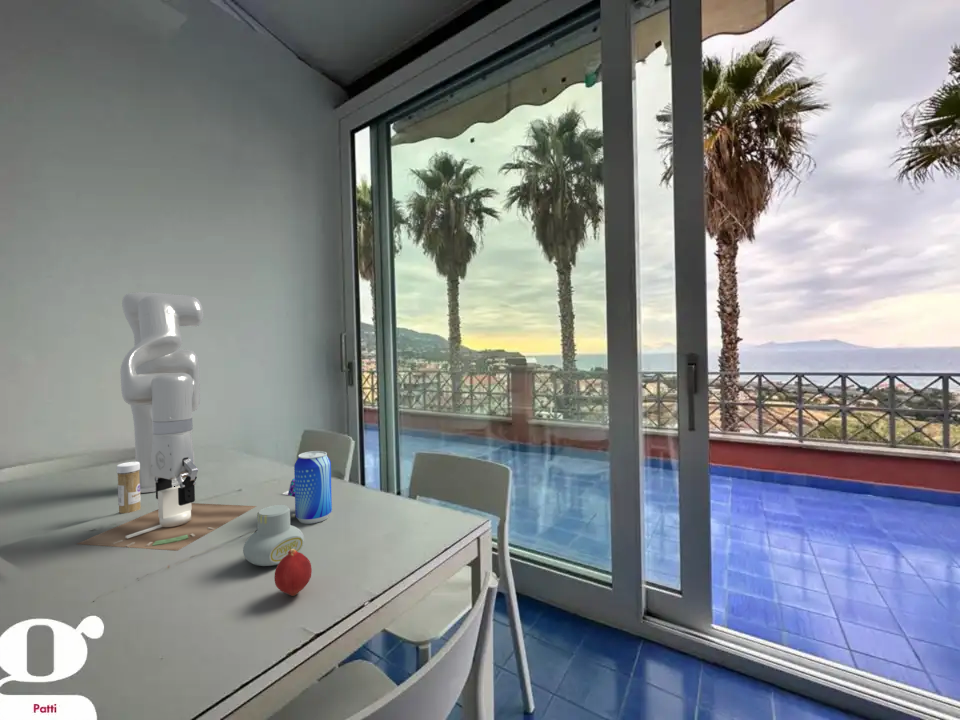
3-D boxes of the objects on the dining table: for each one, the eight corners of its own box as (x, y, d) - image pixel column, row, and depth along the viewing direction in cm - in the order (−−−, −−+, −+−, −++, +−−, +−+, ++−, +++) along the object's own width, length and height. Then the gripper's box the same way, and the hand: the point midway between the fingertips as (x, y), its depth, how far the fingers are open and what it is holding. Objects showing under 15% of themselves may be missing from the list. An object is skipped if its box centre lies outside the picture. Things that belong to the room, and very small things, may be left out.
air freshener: (259, 577, 77) (258, 524, 77) (235, 565, 81) (234, 514, 81) (311, 552, 86) (310, 504, 86) (287, 543, 90) (286, 497, 90)
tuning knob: (182, 514, 102) (181, 482, 102) (196, 519, 99) (195, 486, 99) (119, 535, 91) (118, 499, 91) (133, 541, 88) (132, 503, 88)
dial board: (174, 507, 111) (174, 501, 111) (256, 511, 108) (256, 505, 108) (76, 550, 88) (75, 543, 88) (177, 557, 84) (177, 549, 84)
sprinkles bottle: (140, 516, 106) (138, 463, 106) (116, 520, 103) (114, 466, 103) (142, 510, 110) (140, 460, 109) (119, 514, 107) (118, 462, 107)
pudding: (279, 506, 112) (278, 487, 112) (279, 493, 123) (279, 475, 123) (326, 499, 117) (326, 481, 117) (323, 487, 128) (322, 470, 128)
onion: (282, 586, 74) (281, 541, 74) (316, 584, 74) (315, 539, 74) (269, 606, 68) (268, 557, 68) (305, 604, 69) (304, 556, 68)
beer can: (339, 514, 106) (337, 451, 105) (313, 527, 98) (311, 460, 98) (314, 509, 109) (313, 448, 109) (287, 521, 102) (286, 456, 101)
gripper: (135, 427, 98) (137, 500, 98) (175, 432, 90) (177, 511, 90) (171, 422, 105) (173, 490, 105) (211, 427, 97) (213, 500, 97)
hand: (175, 500), depth 98 cm, fingers open, 9 cm apart
